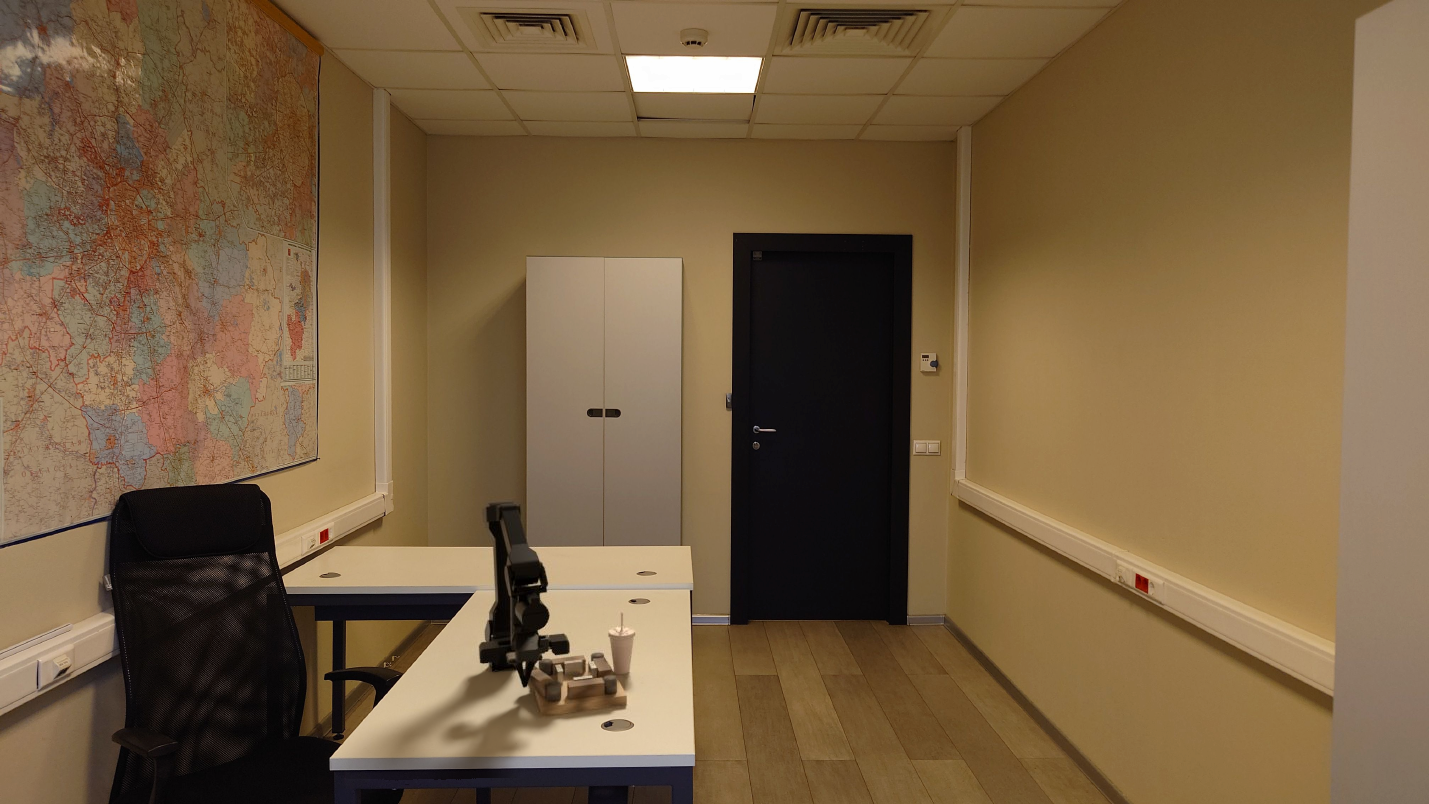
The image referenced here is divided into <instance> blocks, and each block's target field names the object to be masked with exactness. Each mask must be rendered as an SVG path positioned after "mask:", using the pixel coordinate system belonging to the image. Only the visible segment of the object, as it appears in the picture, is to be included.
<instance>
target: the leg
mask: <svg viewBox="0 0 1429 804" xmlns="http://www.w3.org/2000/svg"><path fill="white" fill-rule="evenodd" d="M523 671H524V673H525V668H523ZM527 687H529V688H531V689H532V690H533V691H534V690H535V691H537V692H538V693H539V694H541V695H542V696H543V697H547V700H549V701H557V700H560V699H561V682H558V681H556V680H554V679H553V678H551V677H550V676H548V675H547V674H545V673H544V672H542V671H541V670H539V667H537V666H536V665H535V666H534V668H533V670H532V673H531V676H530V679H529V682H528V685H527Z"/></svg>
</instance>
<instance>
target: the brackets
mask: <svg viewBox="0 0 1429 804" xmlns="http://www.w3.org/2000/svg"><path fill="white" fill-rule="evenodd" d="M587 664H588V675H589V676H582V677H575V678H573V681H579V680H587V679H594V678H597V667H596V665H595V663H594V661H592V662H591V661H588V662H587ZM581 674H583V661H582V660H573V661H565V662H564V675H565V676H573V675H581ZM555 679H556V681H558V682H561V685H563V669H562V667H561V664H560V665H555Z"/></svg>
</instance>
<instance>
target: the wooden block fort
mask: <svg viewBox="0 0 1429 804" xmlns="http://www.w3.org/2000/svg"><path fill="white" fill-rule="evenodd" d="M573 660H582V661H583V674H581V675H573V676H565V675H564V662H565V661H573ZM586 661H587V658H586V657H585V655H584V654H583V655H574V656H564V657H556V658H551V659H550V658H543V659H542V660H540V661H538V669H539V670H541V671H542V672H544V673H545V674H547V675H548V676H550V677H551V678H553V679H554V680H556V679H555V665H560V664H561V667H562V669H563V685H561V699H560V700H557V701H549V700H547V697H543V696H542V695H541V694H539V693H538V692H537V691H535V690H534V689H533V692H534V696H535V699H536V702H537V703H536V704H537V707H538V709H539V713H540V717H542V718H544V717H550V716H557V715H566V714H572V713H579V712H585V711H592V710H597V709H598V710H599V709H600V710H601V709H606V708H613V707H618V706H626V705H628V704H627V703H628V700H627V699H628V695H627V693H626V691H625V689H624V688H623V686H622V684H621V683H620V680H619V679H618V677H617V675H616V673H615V672H614V669H612V666H611V664H610V662H609V661H608V660H607V659H606V657H605V654H604V653H603V652H600V651H599V652H598V651H597V652H593V653H591V655H590V662H592V661H594V663H595V665H596V667H597V678H594V679H587V680H579V681H573V678H575V677H582V676H589V675H588V663H587V662H586Z"/></svg>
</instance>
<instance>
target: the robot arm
mask: <svg viewBox="0 0 1429 804" xmlns="http://www.w3.org/2000/svg"><path fill="white" fill-rule="evenodd" d="M522 511H523V510H522V504H520V503H519V504H518V503H516V502H514V500H507V501H506V500H505V501H493V502H490V501H489V502H487V504H486V506H485V507H482V510H481V516H482V517H481V518H482V522H483V523H484V524H485V525H484V526H485V531H487V533H488V534H489V535H490V536H489V537H491V538H492V551H493V552H492V553H493V572H494V573H493V577H494V579H493V580H494V594H495V595H494V597H495V598H494V599H495V601H494V602H493V604H492V606H491V608H490V610H489V611H488V619H487V621H486V624H485V628H484V641H481V642H480V643H479V645H478V659H479V664H483V665H484V664H489V665H490V670H491V672H493V673H494V672H501V671H509V670H516V671H517V673H518V677H519V679H520V683H521V685H522V688H523V689H524V688H528V682H529V679H530V676H531V673H532V670H533V668H534V666H535V667H536V664H537V663H539V661H540V660H542V659H544V657H543V654H545V653H549V652H550V650H551V653H552V654H553V655H555V656H562V655H569V654H570V652H571V651H570V647H571V646H570V644H571V643H570V641H569V638H568V636H567V634H565V633H556V634H554V633H553V634H543V635H542V634H540V633H539V631H540V630H542V629H543V628H544V627H546V625H547V624H548V623H549V620H550V615H551V614H550V611H549V608H548V607H547V605H545V604H544V602H543V601H542V600H541V594H544V593H545V594H547V593H548V588H547V587H549V586H548V585H549V581H548V577H547V571H546V568H545V566H544V564H543V562H542V561H540V558H539V555H538V553H537V551H535V550H534V549H532V548H531V547H530V546H529V543H528V540H527V536H526V533H525V529H524V526H523V521H522V520H523V516H522V515H523V512H522ZM523 663H525V665H523ZM523 669H525V673H524V671H523Z"/></svg>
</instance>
